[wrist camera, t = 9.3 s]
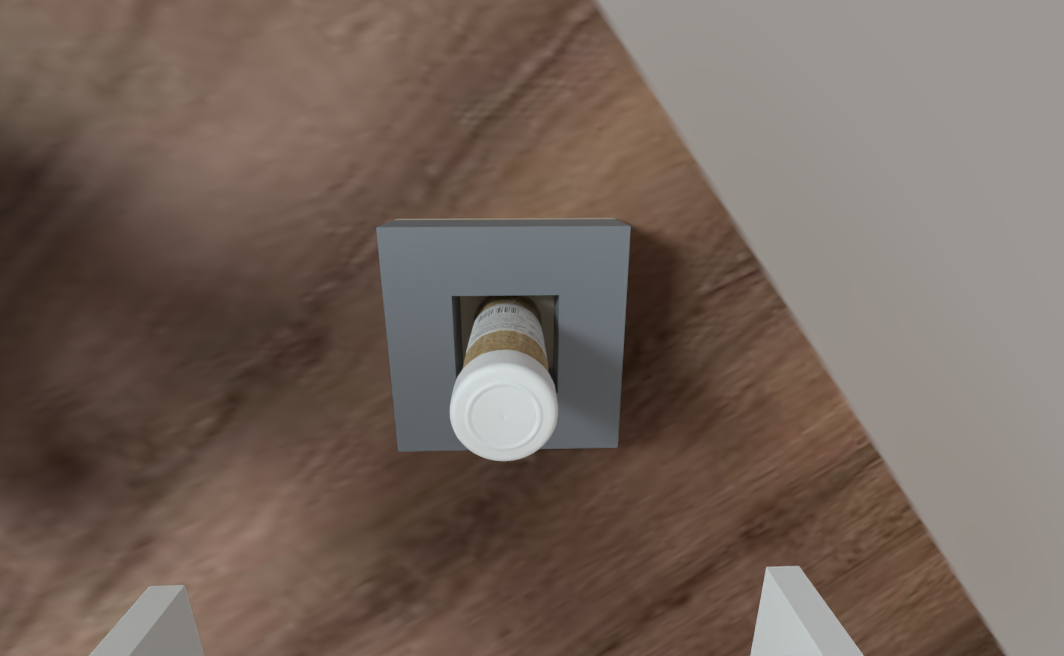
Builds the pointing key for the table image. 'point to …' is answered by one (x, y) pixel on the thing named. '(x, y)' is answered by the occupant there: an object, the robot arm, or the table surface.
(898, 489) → the table surface
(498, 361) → the sprinkles bottle
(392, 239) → the socket block
